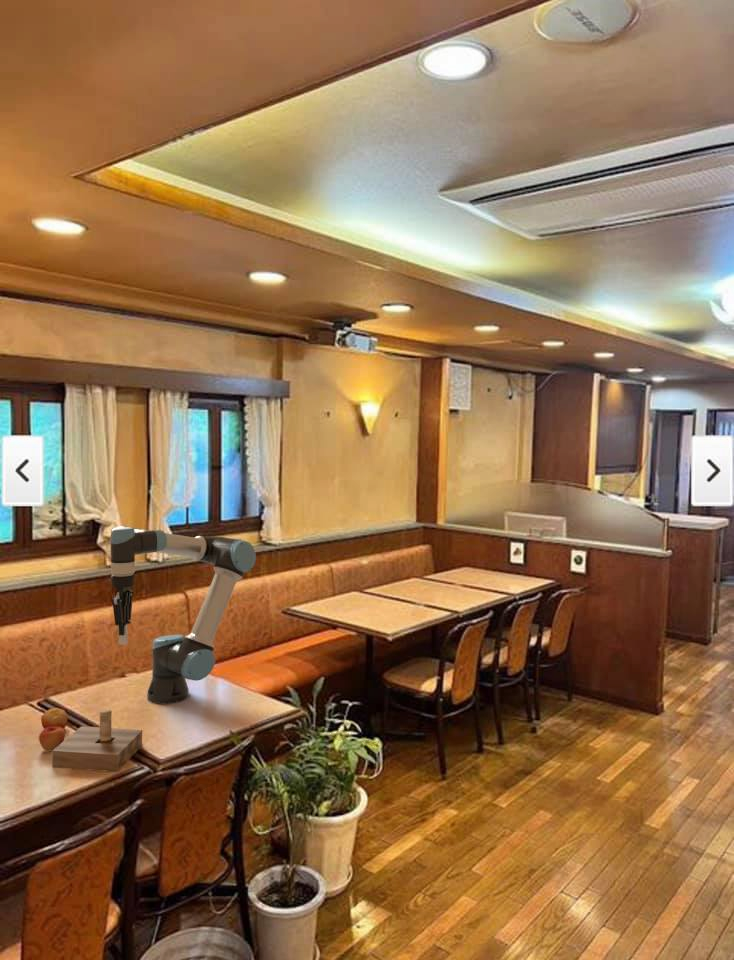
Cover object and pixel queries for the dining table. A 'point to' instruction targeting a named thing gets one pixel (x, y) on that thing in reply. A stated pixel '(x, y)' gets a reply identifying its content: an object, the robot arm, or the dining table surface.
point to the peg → (105, 726)
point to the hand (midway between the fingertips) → (123, 643)
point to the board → (97, 749)
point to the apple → (51, 737)
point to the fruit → (54, 718)
